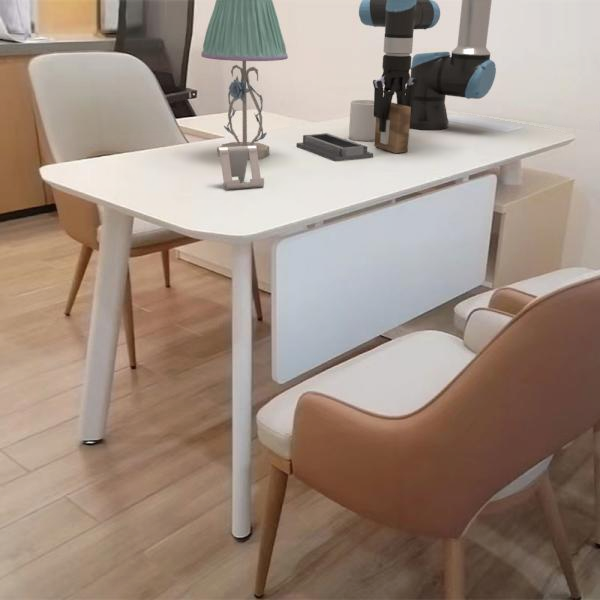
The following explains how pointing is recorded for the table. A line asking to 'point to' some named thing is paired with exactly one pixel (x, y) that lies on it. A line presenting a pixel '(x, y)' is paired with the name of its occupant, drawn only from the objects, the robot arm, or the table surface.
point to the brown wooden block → (395, 129)
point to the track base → (334, 147)
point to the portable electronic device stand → (239, 166)
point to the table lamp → (244, 51)
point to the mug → (362, 120)
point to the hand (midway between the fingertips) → (391, 142)
